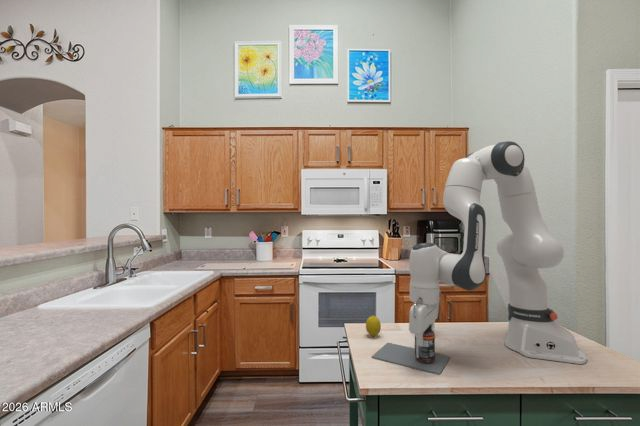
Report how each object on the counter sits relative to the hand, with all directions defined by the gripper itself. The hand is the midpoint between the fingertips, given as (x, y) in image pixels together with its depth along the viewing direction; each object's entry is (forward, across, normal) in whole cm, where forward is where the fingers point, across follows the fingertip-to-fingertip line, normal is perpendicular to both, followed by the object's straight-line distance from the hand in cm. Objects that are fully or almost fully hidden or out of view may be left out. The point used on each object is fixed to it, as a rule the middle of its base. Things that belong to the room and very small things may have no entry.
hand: (424, 340), depth 100 cm
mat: (+7, 0, +4) cm, 8 cm away
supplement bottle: (+6, 0, 0) cm, 6 cm away
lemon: (+7, +11, +22) cm, 26 cm away
